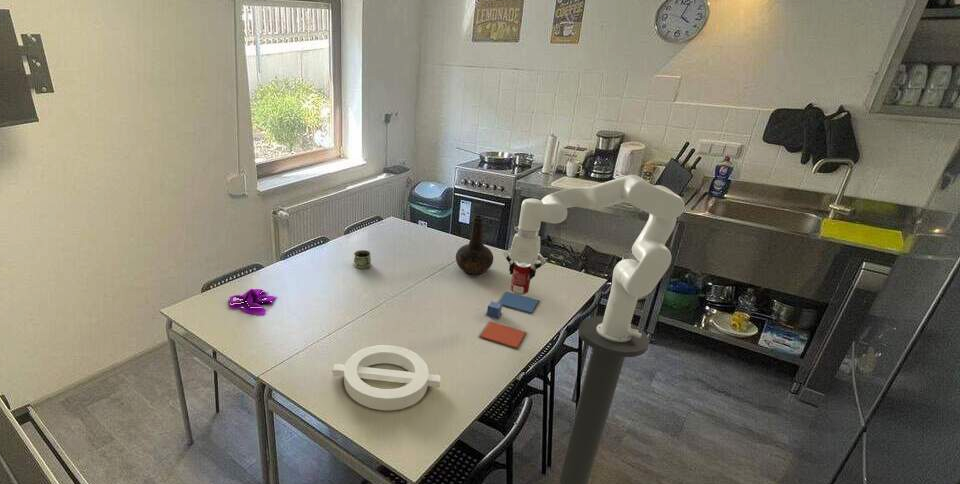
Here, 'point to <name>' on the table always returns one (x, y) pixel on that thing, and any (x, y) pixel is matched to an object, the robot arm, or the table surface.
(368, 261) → the vessel
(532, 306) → the blue mat
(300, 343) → the table surface
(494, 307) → the blue block
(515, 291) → the soda can
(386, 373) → the white circle with bar
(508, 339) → the orange mat
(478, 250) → the brown vase
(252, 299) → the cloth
